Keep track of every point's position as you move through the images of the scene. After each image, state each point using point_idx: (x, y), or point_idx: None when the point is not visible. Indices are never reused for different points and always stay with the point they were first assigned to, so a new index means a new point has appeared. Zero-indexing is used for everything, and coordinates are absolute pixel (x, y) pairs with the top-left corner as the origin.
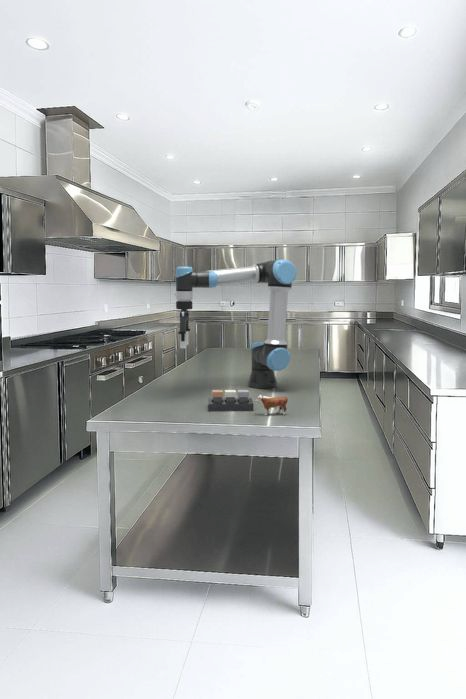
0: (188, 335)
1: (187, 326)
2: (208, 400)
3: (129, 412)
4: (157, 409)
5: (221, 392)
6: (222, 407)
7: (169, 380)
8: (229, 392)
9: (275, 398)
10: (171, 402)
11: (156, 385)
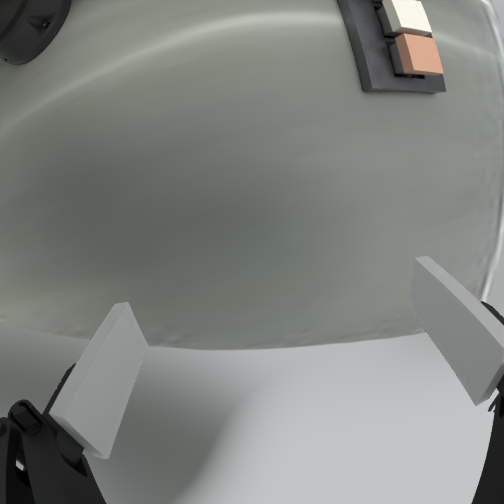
0: (79, 373)
1: (70, 496)
2: (404, 88)
3: None
4: (423, 237)
5: (434, 44)
6: None
7: (37, 308)
8: (427, 20)
9: None
10: (341, 220)
11: None
